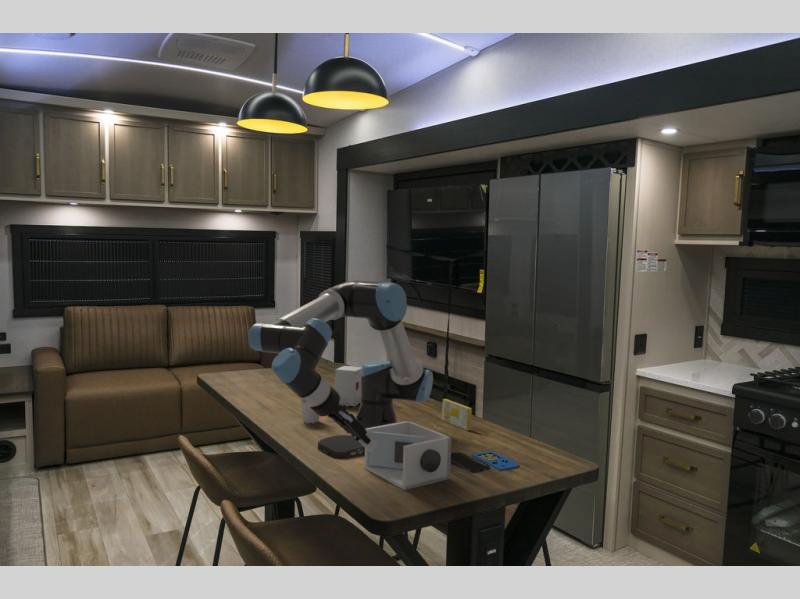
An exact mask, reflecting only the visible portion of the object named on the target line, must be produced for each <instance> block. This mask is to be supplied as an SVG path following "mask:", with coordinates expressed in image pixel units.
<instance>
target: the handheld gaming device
mask: <svg viewBox="0 0 800 599" xmlns="http://www.w3.org/2000/svg"><path fill="white" fill-rule="evenodd" d="M486 454H493V455H492V457H494V458H493V459H488V460H485V459H483V458H481V457H479V456H481V455H484V456H485V457H488V456H487V455H486ZM496 456H497V457H496ZM471 457H472V458H474V459H476V460H478V459H479V461H480V460H481V462H482V461H484V462H485V463H487V464H489V465H491V466H490V467H492V468H494V469H496V470H497V469H498V471H500V472H502V471H508V470H512V469H517V467H518V466H519V465H520V464H519V463H518V462H516V461H514V460H511V459H510V458H507V457H506V456H503V455H502V454H500V453H498V452H495V451H493V450H489V451H483V452H478V453H477V452H476V453H472V454H471ZM484 462H483V463H484ZM518 468H519V467H518Z"/></svg>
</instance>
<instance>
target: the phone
mask: <svg viewBox="0 0 800 599" xmlns="http://www.w3.org/2000/svg"><path fill="white" fill-rule="evenodd" d="M450 465H453V466H455V467H458V468H459V467H460V469H462V470H464V471H466V472H468V471H469V472H468V473H471V472H472V474H473V473H474V472H475V473H479V472H482V471H486V470H490V467H491V466H490V465H488V464H486V463H484V462H482V461H480V460H478V459H477V458H475V457H473V456H469V455H468V454H467V455H466V454H465V453H462V452H460V451H459V452H451V463H450ZM485 469H486V470H485ZM481 470H482V471H481ZM478 471H479V472H478Z"/></svg>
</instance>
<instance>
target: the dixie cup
mask: <svg viewBox="0 0 800 599" xmlns="http://www.w3.org/2000/svg"><path fill="white" fill-rule="evenodd" d="M301 401H302V399H301V398H300V405H301V414H302V416H301V417H302V422H303V421H304V422H307V423H306V424H309V423H312V424H315V423H314V422H317V423H319V420H320V416H319V415H317V414H316V413H315V412H314V411H313V410H312V409H311V408H310V406H308V405H307V404H306V403H304V404H303V403H301ZM304 422H303V423H304Z"/></svg>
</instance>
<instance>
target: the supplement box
mask: <svg viewBox="0 0 800 599" xmlns="http://www.w3.org/2000/svg"><path fill="white" fill-rule="evenodd" d="M362 367H363V366H362ZM362 367H360V366H349V365H343V366H340V367H338V368H336V369H335V370H334V372H335V374H334V375H335V376H334V377H335V378H334V380H335V381H334V385H335V386H334V390H335V391H336V392H337V393H338V394H339V395H340V401H339V405H345V406H344V407H349V406H355V407H357V406H358V404H359V403H360V404H361V373H362ZM360 404H359V405H360ZM356 405H357V406H356Z"/></svg>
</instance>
